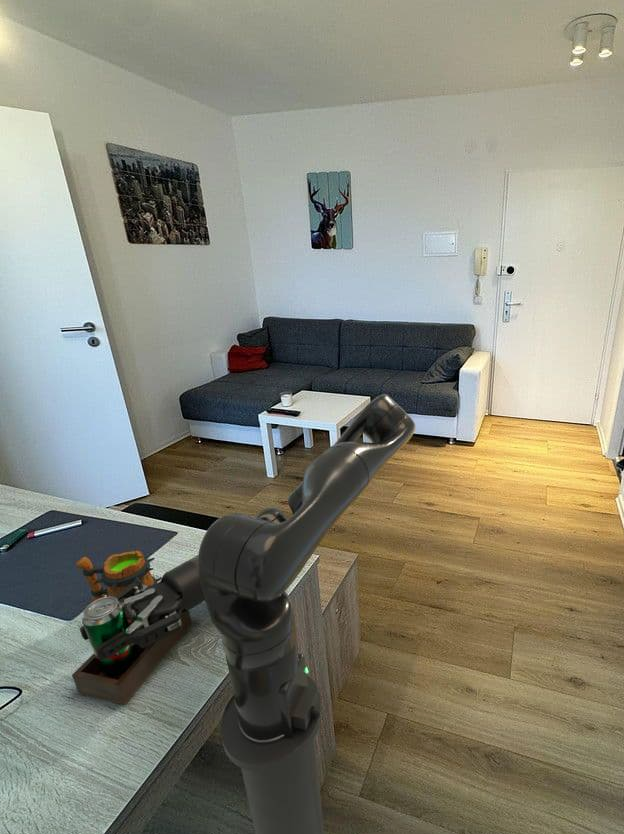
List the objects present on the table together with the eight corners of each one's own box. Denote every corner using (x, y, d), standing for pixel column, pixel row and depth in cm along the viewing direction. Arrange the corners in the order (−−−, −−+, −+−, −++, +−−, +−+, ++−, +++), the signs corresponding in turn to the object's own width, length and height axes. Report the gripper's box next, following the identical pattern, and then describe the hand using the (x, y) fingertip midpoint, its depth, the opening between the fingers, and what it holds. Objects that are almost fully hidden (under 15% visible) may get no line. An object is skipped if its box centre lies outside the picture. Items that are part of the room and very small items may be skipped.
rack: (192, 623, 78) (188, 606, 76) (125, 704, 64) (118, 685, 62) (153, 616, 79) (148, 599, 78) (79, 694, 65) (71, 675, 64)
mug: (176, 585, 86) (164, 537, 81) (152, 627, 76) (137, 575, 72) (107, 588, 85) (92, 540, 80) (75, 630, 75) (55, 578, 71)
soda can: (107, 655, 69) (86, 598, 65) (143, 647, 71) (125, 591, 66) (97, 683, 65) (74, 624, 60) (135, 674, 66) (115, 616, 62)
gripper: (226, 613, 73) (117, 690, 61) (182, 577, 81) (77, 638, 68) (219, 579, 70) (103, 651, 58) (174, 545, 78) (63, 602, 66)
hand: (90, 644), depth 63 cm, fingers closed on soda can, 5 cm apart
